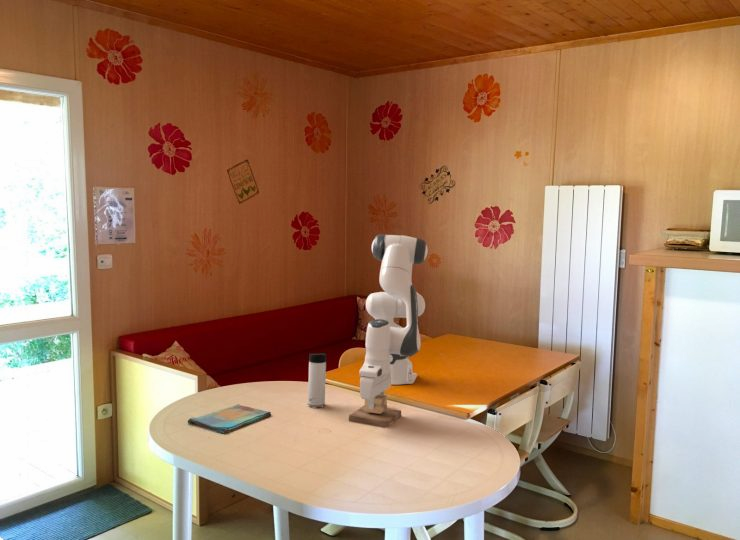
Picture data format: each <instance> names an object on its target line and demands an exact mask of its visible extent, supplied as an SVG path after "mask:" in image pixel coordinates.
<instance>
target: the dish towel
mask: <svg viewBox="0 0 740 540" xmlns="http://www.w3.org/2000/svg"><path fill="white" fill-rule="evenodd" d="M271 416H272V413H271V411H266V410H262V409H259V408H254V407H250V406H246V405H241V404H239V403H238V404H235V405H233V406H228V407H226V408H223V409H219V410H215V411H212V412H209V413H206V414H203V415H200V416H196V417H190V418H189V419H188V420H187V424H188V425H192V426H195V427H198V428H202V429H203V430H204V429H205V430H208V431H210V432H214V433H218V434H221V435H222V434H223V435H224V434H228V433H231V432H234V431H236V430H237V429H241V428H243V427H245V426H247V425H250V424H253V423H255V422H258V421H261V420H263V419H266V418H268V417H271Z"/></svg>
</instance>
